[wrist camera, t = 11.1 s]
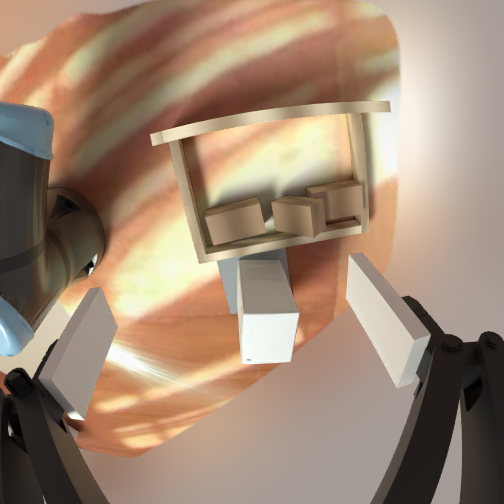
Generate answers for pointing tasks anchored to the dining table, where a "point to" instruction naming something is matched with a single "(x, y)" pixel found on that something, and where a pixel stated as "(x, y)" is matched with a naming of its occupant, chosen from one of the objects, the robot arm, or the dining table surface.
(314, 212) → the offcut
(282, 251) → the mat
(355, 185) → the offcut
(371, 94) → the dining table surface
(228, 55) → the dining table surface
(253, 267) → the small box
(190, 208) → the tray
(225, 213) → the offcut
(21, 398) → the robot arm
